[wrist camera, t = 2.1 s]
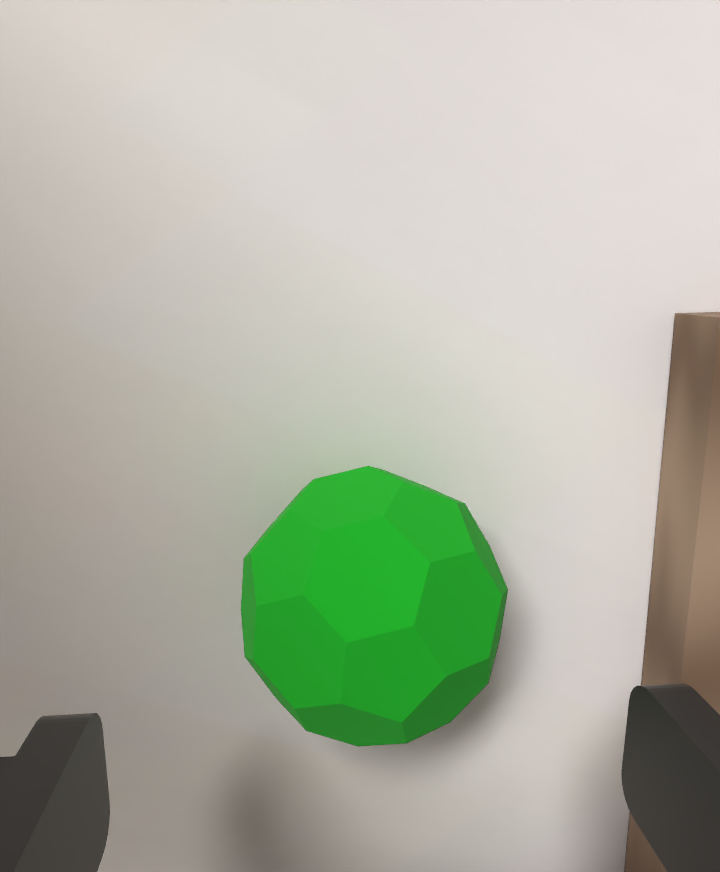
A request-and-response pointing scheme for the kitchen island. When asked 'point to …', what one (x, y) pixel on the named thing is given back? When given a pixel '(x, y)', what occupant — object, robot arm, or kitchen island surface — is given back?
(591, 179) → the kitchen island surface
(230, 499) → the kitchen island surface
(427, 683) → the polyhedron
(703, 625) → the walnut board
